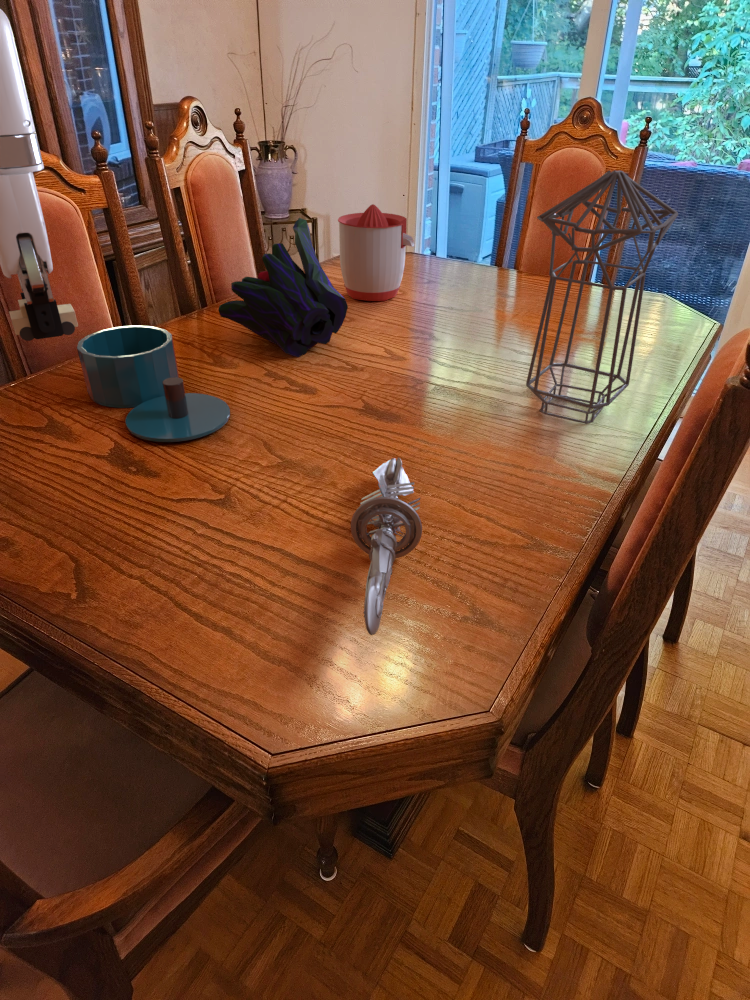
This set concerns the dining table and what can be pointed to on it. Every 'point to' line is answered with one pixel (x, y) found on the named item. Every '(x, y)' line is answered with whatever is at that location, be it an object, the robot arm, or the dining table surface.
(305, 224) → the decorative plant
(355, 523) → the spaceship
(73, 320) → the toy car
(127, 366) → the pot
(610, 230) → the geometric lantern
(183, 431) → the pot lid
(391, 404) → the dining table surface
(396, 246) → the citrus juicer
